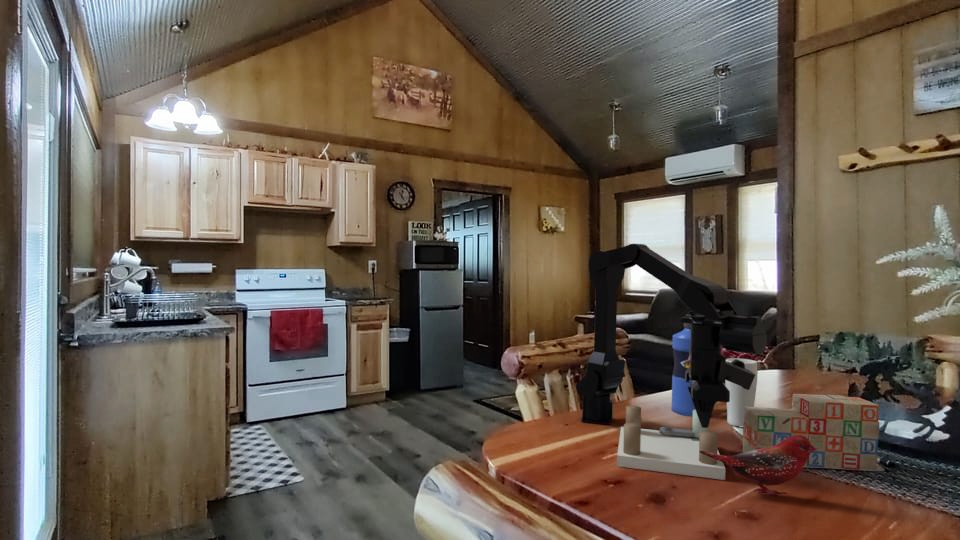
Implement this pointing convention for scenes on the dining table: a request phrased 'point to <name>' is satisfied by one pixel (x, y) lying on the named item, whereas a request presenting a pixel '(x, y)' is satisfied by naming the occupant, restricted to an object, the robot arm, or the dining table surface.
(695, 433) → the hinged leg
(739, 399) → the drinking glass
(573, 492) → the dining table surface
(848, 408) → the stack of blocks
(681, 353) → the water bottle
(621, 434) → the stool seat
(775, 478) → the decorative bird figurine
